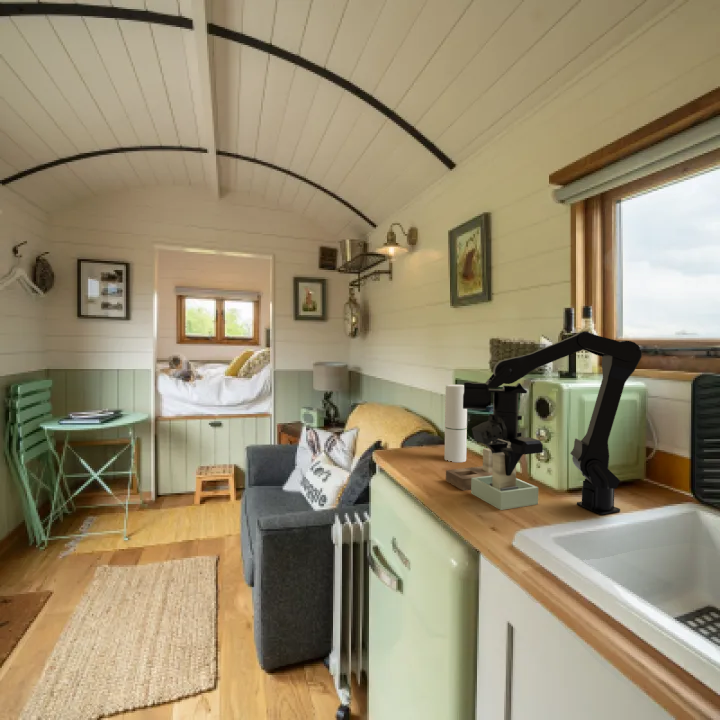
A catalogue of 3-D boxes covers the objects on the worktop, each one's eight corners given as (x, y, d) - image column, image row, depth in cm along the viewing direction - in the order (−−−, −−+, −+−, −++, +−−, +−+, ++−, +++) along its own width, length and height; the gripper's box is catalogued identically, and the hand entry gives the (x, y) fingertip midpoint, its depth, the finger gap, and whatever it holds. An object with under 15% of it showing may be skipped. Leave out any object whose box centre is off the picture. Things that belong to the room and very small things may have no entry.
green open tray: (505, 488, 103) (506, 473, 103) (538, 504, 93) (538, 487, 93) (471, 493, 99) (471, 477, 99) (500, 510, 89) (501, 492, 89)
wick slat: (496, 478, 112) (497, 447, 112) (502, 481, 109) (503, 449, 109) (482, 480, 110) (483, 448, 110) (488, 483, 108) (488, 450, 107)
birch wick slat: (508, 487, 98) (509, 451, 98) (515, 490, 96) (516, 454, 96) (492, 489, 96) (492, 453, 96) (499, 492, 94) (499, 455, 94)
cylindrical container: (464, 456, 134) (465, 384, 134) (467, 462, 127) (469, 386, 127) (443, 456, 135) (444, 384, 135) (445, 461, 128) (447, 386, 127)
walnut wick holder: (494, 475, 115) (494, 464, 115) (513, 483, 107) (513, 472, 107) (445, 480, 109) (445, 470, 109) (462, 490, 101) (462, 479, 101)
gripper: (455, 406, 102) (454, 466, 102) (505, 418, 84) (504, 490, 84) (490, 405, 106) (489, 462, 106) (545, 416, 88) (543, 484, 88)
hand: (504, 473), depth 96 cm, fingers closed on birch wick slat, 2 cm apart
